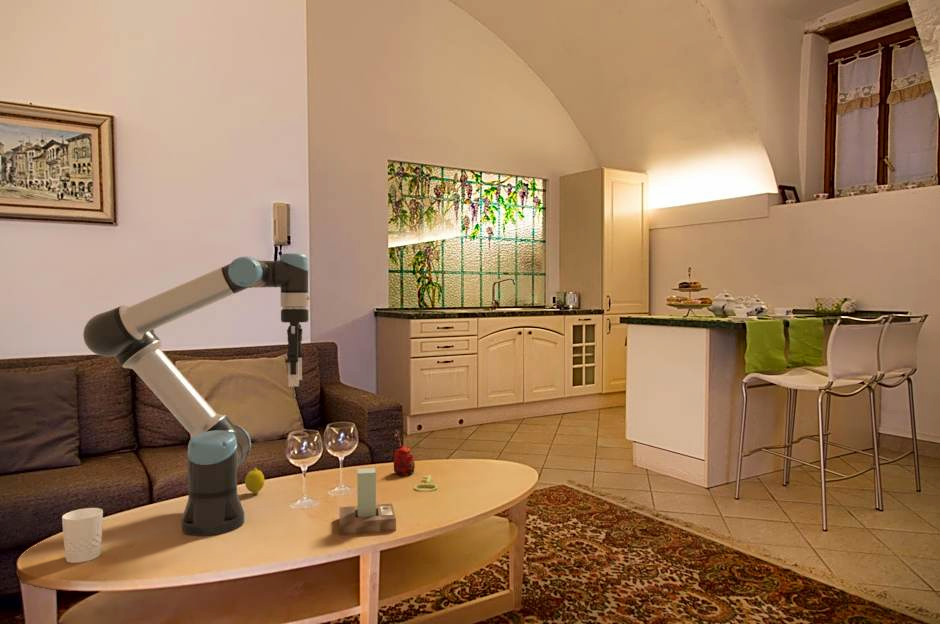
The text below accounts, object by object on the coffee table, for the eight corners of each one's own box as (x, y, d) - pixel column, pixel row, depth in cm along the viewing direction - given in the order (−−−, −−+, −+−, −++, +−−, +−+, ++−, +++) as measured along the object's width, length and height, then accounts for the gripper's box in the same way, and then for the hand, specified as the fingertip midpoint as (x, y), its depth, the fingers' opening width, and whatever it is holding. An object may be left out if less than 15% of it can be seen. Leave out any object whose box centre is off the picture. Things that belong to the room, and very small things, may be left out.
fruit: (248, 491, 189) (248, 465, 189) (266, 490, 190) (266, 464, 189) (242, 496, 184) (242, 470, 184) (261, 496, 184) (261, 469, 184)
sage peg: (358, 528, 158) (357, 473, 158) (357, 521, 163) (357, 468, 162) (376, 526, 159) (375, 472, 159) (375, 520, 164) (374, 467, 163)
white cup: (54, 561, 139) (53, 516, 139) (88, 548, 146) (87, 506, 146) (78, 566, 136) (77, 521, 136) (111, 553, 143) (110, 510, 143)
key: (430, 480, 201) (430, 474, 201) (439, 492, 189) (439, 485, 189) (409, 482, 199) (408, 476, 199) (415, 494, 187) (415, 487, 187)
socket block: (339, 535, 154) (339, 521, 154) (339, 518, 165) (339, 505, 165) (396, 530, 156) (395, 517, 156) (392, 514, 168) (392, 502, 168)
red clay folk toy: (410, 477, 203) (409, 432, 203) (389, 476, 205) (389, 431, 205) (417, 471, 211) (416, 427, 210) (397, 470, 212) (397, 426, 212)
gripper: (305, 308, 164) (306, 388, 165) (310, 307, 189) (311, 377, 189) (276, 309, 163) (277, 389, 163) (284, 307, 187) (285, 378, 187)
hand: (295, 383), depth 176 cm, fingers open, 13 cm apart
